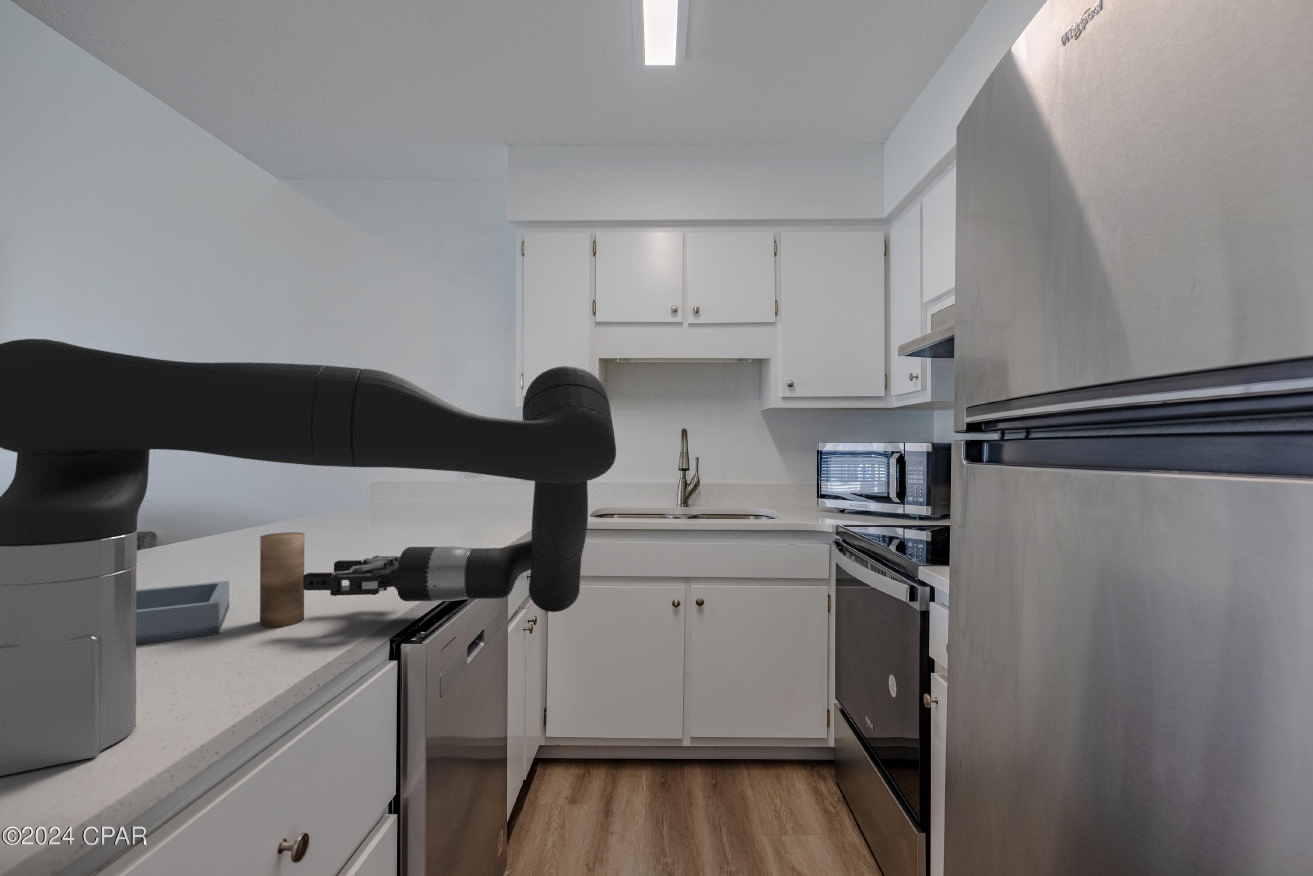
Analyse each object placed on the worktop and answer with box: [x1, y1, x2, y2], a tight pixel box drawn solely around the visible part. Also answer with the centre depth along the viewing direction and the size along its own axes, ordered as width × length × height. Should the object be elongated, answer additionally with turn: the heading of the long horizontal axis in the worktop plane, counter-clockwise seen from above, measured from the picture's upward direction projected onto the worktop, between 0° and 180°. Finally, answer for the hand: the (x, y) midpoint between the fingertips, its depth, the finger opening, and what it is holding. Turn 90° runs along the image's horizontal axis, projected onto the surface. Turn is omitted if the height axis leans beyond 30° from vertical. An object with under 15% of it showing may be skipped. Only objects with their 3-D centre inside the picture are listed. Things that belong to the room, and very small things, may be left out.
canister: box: [259, 531, 305, 628], centre depth 84 cm, size 5×5×12 cm
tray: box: [136, 580, 230, 646], centre depth 81 cm, size 14×14×4 cm
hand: (320, 574), depth 84 cm, fingers open, 8 cm apart
